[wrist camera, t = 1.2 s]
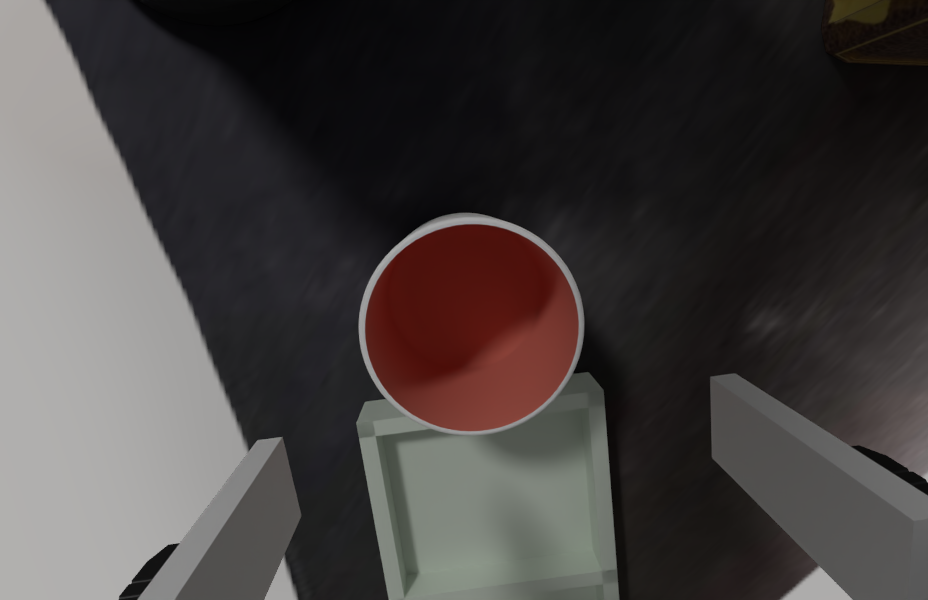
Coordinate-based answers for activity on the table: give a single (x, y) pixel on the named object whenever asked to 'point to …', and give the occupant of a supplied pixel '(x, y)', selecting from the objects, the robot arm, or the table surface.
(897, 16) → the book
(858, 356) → the table surface
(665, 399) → the table surface
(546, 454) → the holder
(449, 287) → the cup
